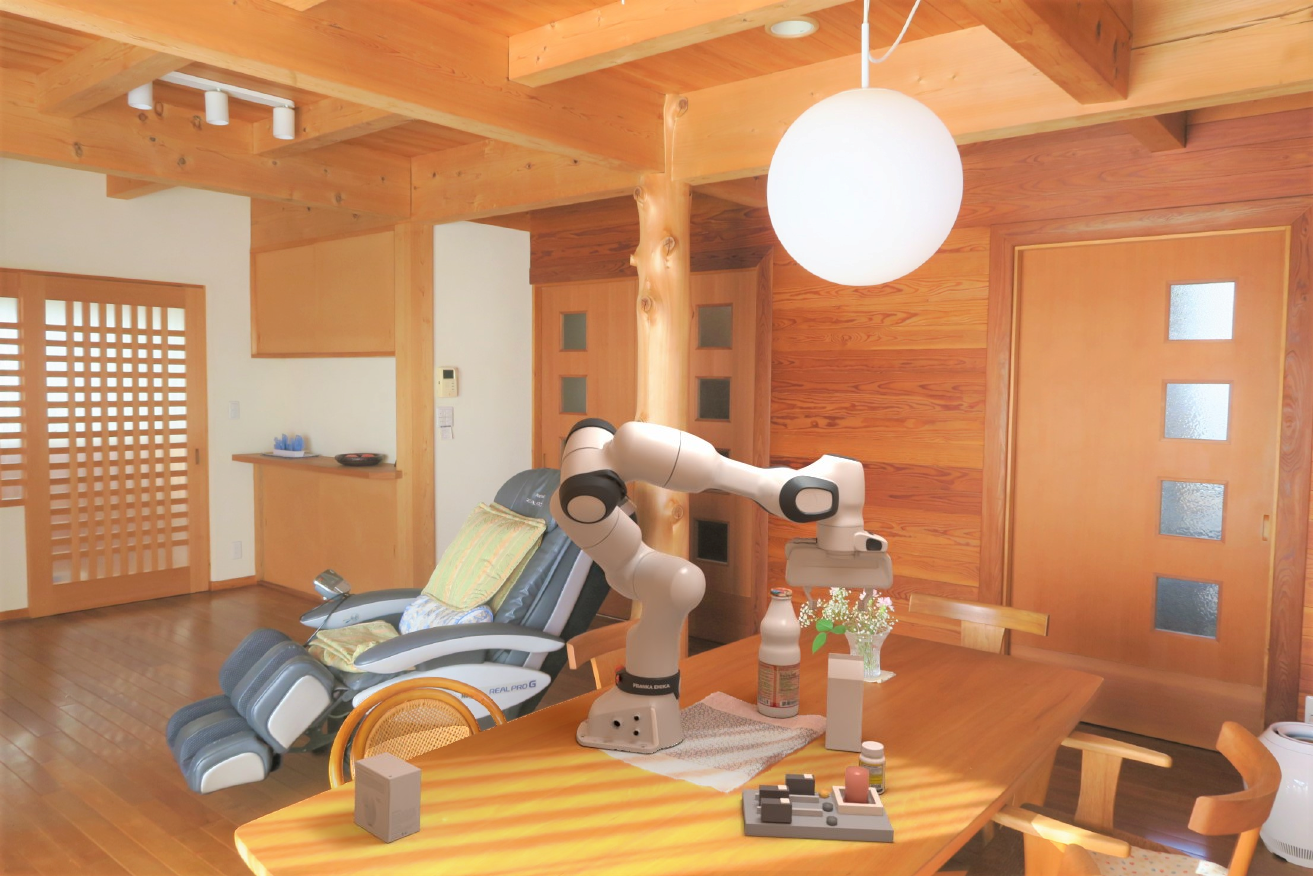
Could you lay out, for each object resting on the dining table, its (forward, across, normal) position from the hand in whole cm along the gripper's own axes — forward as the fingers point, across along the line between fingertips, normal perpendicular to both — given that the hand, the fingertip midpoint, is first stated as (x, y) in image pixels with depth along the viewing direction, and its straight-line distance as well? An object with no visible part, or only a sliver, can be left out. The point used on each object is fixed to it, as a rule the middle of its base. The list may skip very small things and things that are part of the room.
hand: (837, 610), depth 177 cm
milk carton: (+31, +4, +12) cm, 34 cm away
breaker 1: (+29, -13, -22) cm, 39 cm away
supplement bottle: (+31, +6, -9) cm, 33 cm away
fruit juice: (+31, -8, +30) cm, 44 cm away
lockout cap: (+29, +1, -20) cm, 35 cm away
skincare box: (+31, -77, -31) cm, 89 cm away
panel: (+31, -6, -22) cm, 39 cm away
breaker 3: (+29, -8, -17) cm, 35 cm away
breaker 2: (+29, -13, -27) cm, 42 cm away
